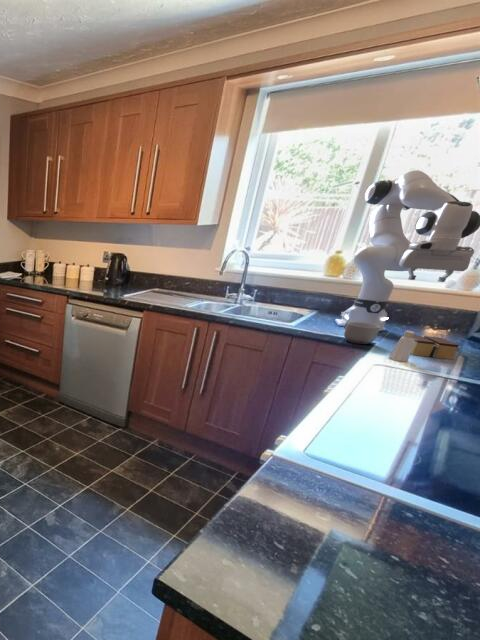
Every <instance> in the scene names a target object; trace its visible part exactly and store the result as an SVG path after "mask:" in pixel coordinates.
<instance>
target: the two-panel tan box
mask: <svg viewBox="0 0 480 640" xmlns="http://www.w3.org/2000/svg"><path fill="white" fill-rule="evenodd" d="M404 334H405V333H403V334H402V336H401V337H404ZM413 339H414V342H413V345H412V349H411V352H410V355H413V356H420V357H430V354H431V351H432V349H433V347H434V345H435V346H437V347H439V348H438V350H437V352H436V354H435V356H434V358H437V359H446V360H453V358H454V356H455V354H456V351H457V350H458V347H459V344H458V343H455V342H452V341H450V340H448V339H445V338H442V337H437V336H428V335H424V336H422V335H418V334H414V336H413Z"/></svg>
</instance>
